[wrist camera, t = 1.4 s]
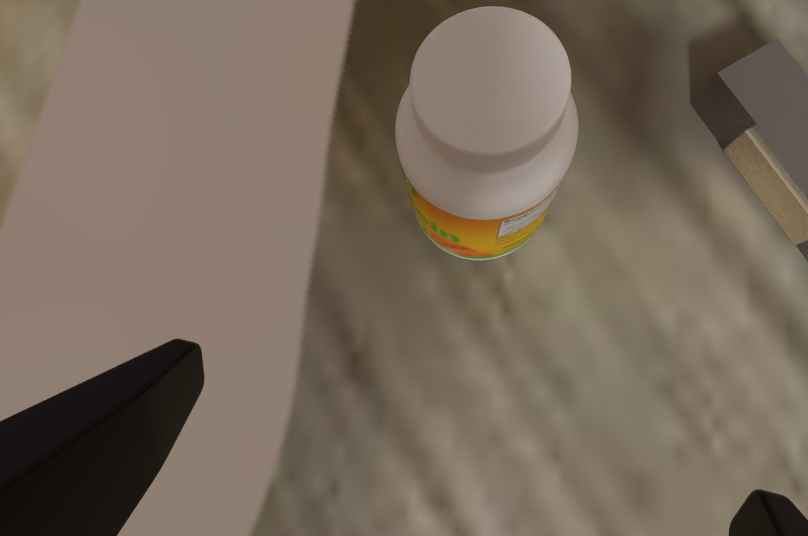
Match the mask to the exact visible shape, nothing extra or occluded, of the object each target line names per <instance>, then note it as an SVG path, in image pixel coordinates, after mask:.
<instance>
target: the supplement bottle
mask: <svg viewBox="0 0 808 536" xmlns="http://www.w3.org/2000/svg"><path fill="white" fill-rule="evenodd" d="M570 90H571V68H570V63H569V60H568V56H567V54H566V51H565V49H564V47H563V46H562V43H561V42H560V40H559V39H558V38H557V36H556V35H555V34H554V33H553V31H552V30H551V29H550V28H549V27H548V26H546V25H545V24H544V23H543V22H541V21H540V20H539V19H537V18H536V17H534V16H532V15H529V14H527V13H525V12H523V11H520V10H516V9H512V8H508V7H499V6H486V7H478V8H474V9H469V10H466V11H463V12H460V13H458V14H456V15H454V16H452V17H450V18H448V19H447V20H445V21H443V22H442V23H441V24H439V25H438V26H437V27H436V28H435V29H434V30H433V31H432V32H431V33H430V34H429V35H428V36H427V37H426V38H425V40H424V41H423V43H422V44H421V46H420V47H419V49H418V51H417V53H416V56H415V58H414V61H413V64H412V67H411V72H410V84H409V86H408V87H407V89H406V91H405V93H404V95H403V97H402V99H401V101H400V104H399V107H398V111H397V116H396V124H395V139H396V147H397V152H398V156H399V160H400V163H401V167H402V170H403V173H404V176H405V180H406V183H407V187H408V190H409V194H410V198H411V201H412V205H413V209H414V212H415V215H416V218H417V220H418V222H419V224H420V226H421V228H422V230H423V231H424V232H425V234H426V235H427V236H428V238H429V239H430V240H431V241H432V242H433V243H434V244H435V245H437V246H438V247H439V248H441V249H442V250H444V251H446V252H448V253H450V254H452V255H454V256H457V257H460V258H464V259H469V260H489V259H494V258H498V257H501V256H504V255H507V254H509V253H511V252H513V251H514V250H516V249H518V248H520V247H521V246H522V245H523V244H525V243H526V242H527V241H528V240H529V239H530V238H531V237H532V236H533V235H534V233H535V232H536V231H537V229H538V228H539V226H540V224H541V223H542V221H543V219H544V217H545V215H546V213H547V211H548V209H549V207H550V205H551V203H552V201H553V199H554V197H555V195H556V193H557V191H558V189H559V187H560V185H561V182H562V180H563V178H564V177H565V174H566V172H567V170H568V168H569V166H570V164H571V162H572V159H573V156H574V152H575V149H576V145H577V139H578V114H577V109H576V105H575V102H574V99H573V96H572V94H571V92H570Z"/></svg>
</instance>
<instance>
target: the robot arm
mask: <svg viewBox="0 0 808 536" xmlns="http://www.w3.org/2000/svg"><path fill="white" fill-rule="evenodd" d="M203 385H204V370H203V360H202V351H201V347H200V346H199V344H197V343H194V342H190V341H186V340H182V339H174V340H171V341H169V342H167V343H165V344H163V345H160V346H158V347H157V348H154V349H152V350H150V351H148V352H146V353H144V354H141V355H139V356H137V357H135V358H133V359H131V360H129V361H127V362H125V363H122V364H120V365H118V366H116V367H114V368H112V369H110V370H108V371H106V372H103V373H102V374H99V375H97V376H95V377H93V378H91V379H89V380H87V381H84V382H83V383H80V384H78V385H76V386H74V387H72V388H70V389H68V390H65V391H63V392H61V393H59V394H57V395H55V396H53V397H51V398H49V399H47V400H44V401H42V402H40V403H38V404H36V405H34V406H32V407H30V408H28V409H25V410H23V411H21V412H19V413H17V414H15V415H13V416H11V417H9V418H7V419H4V420H3V421H1V422H0V536H117V535H118V533H119V532H120V530H121V528H122V527H123V526H124V524H125V523H126V521H127V520H128V518H129V517H130V515H131V513H132V512H133V510H134V509H135V508H136V506H137V504H138V503H139V501H140V500H141V498H142V497H143V495H144V494H145V492H146V491H147V489H148V488H149V486H150V485H151V483H152V482H153V480H154V479H155V477H156V475H157V474H158V472H159V471H160V469H161V467H162V466H163V464H164V462H165V460H166V458H167V457H168V455H169V453H170V451H171V449H172V447H173V445H174V443H175V441H176V439H177V437H178V436H179V434H180V432H181V430H182V428H183V426H184V424H185V422H186V420H187V418H188V416H189V414H190V412H191V411H192V408H193V407H194V405H195V403H196V401H197V399H198V397H199V395H200V393H201V391H202V388H203ZM729 536H808V520H807V519H806V518H805V517H804V515H803V514H802V513H801V512H800V511H799V510H798V509H797V507H796V506H795V505H794V504H793V503H792V502H791V501H790V500H789V499H788V498H787V497H785V496H783V495H780V494H776V493H772V492H768V491H765V490H761V489H757V490H754V491H753V492H752V493H751V494H750V495H749V496H748V498H747V499H746V501H745V502H744V503H743V505H742V506H741V508H740V509H739V511H738V512H737V513H736V515H735V516H734V518H733V519H732V521H731V524H730V528H729Z"/></svg>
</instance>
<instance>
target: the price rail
mask: <svg viewBox="0 0 808 536" xmlns="http://www.w3.org/2000/svg"><path fill="white" fill-rule="evenodd" d="M691 105H692V106H693V108H694V109H695V110H696V112H697V113H698V114H699V116H700V117H701V118H702V120H703V121H704V122H705V124H706V125H707V126H708V128H709V129H710V131H711V132H712V133H713V135H714V136H715V137H716V139H717V140H718V141H719V143H720V144H721V145H722V147H723V148H724V150H723V151H724V152H725V153H726V155H727V156H728V157H729V159H730V160H731V161H732V163H733V164H734V165H735V167H736V168H737V170H738V171H739V172H740V174H741V175H742V176H743V178H744V179H745V180H746V182H747V183H748V184H749V186H750V187H751V188H752V190H753V191H754V192H755V194H756V195H757V196H758V198H759V199H760V200H761V202H762V203H763V204H764V206H765V207H766V208H767V210H768V211H769V212H770V214H771V215H772V216H773V218H774V219H775V220H776V222H777V223H778V224H779V226H780V227H781V229H782V230H783V231H784V233H785V234H786V235H787V237H788V238H789V239H790V241H791V242H792V243H793V245H796V246H797V247H798V248H799V250H800V251H801V252H802V254H803V255H804V256H805V258H806V259H807V260H808V76H807V75H806V74H805V73H804V71H803V70H802V69H801V68H800V66H799V65H798V64H797V63H796V61H795V60H794V59H793V58H792V57H791V55H790V54H789V53H788V52H787V50H786V49H785V48H784V47H783V45H782V44H781V43H780V42H779V41H778V39H775V40H774V41H772V42H770V43H768V44H767V45H765V46H763V47H761V48H760V49H758V50H756V51H754V52H753V53H751V54H749V55H747V56H746V57H744V58H742V59H740V60H739V61H737V62H735V63H733V64H732V65H730V66H728V67H726V68H724V69H723V70H721V71H719V72H717V73H716V75H715V76H714V77H713V78H712V80H711V81H710V82H709V83H708V84H707V86H706V87H705V88H704V89H703V91H702V92H701V93H700V94H699V95H698V97H697V98H696V99H695V100H694V102H693V103H692V104H691Z"/></svg>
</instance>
